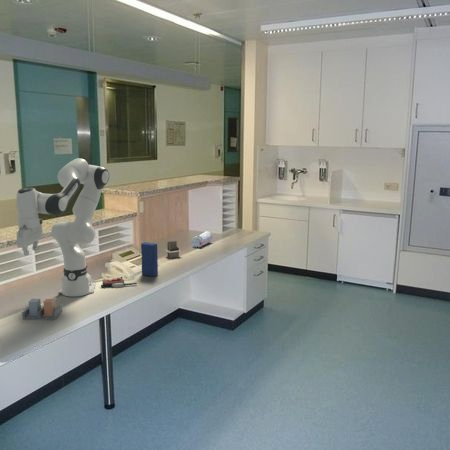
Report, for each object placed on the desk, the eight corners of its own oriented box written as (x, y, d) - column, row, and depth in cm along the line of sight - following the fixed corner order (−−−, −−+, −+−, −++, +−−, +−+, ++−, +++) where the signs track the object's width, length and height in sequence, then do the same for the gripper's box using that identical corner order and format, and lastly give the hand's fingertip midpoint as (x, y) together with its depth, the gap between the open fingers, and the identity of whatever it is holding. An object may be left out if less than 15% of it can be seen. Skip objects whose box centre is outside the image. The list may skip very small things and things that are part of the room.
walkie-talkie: (101, 289, 257) (137, 286, 263) (101, 282, 256) (137, 278, 262) (100, 284, 265) (135, 281, 272) (100, 277, 264) (135, 274, 271)
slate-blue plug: (32, 311, 221) (31, 298, 220) (41, 311, 221) (40, 298, 220) (29, 314, 217) (28, 301, 216) (37, 314, 217) (36, 301, 216)
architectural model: (181, 253, 336) (181, 238, 334) (190, 258, 322) (190, 243, 319) (157, 256, 328) (156, 240, 326) (165, 261, 313) (164, 246, 311)
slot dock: (31, 311, 224) (31, 304, 224) (62, 311, 225) (61, 304, 224) (22, 319, 215) (22, 312, 214) (54, 319, 215) (54, 312, 214)
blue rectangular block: (158, 274, 284) (158, 243, 280) (153, 277, 279) (153, 245, 275) (146, 272, 288) (145, 241, 284) (141, 274, 283) (140, 243, 279)
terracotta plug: (47, 311, 221) (46, 298, 220) (55, 311, 221) (54, 298, 220) (44, 314, 217) (43, 301, 216) (52, 314, 217) (51, 301, 216)
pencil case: (200, 248, 349) (200, 236, 347) (190, 247, 352) (190, 235, 350) (212, 242, 367) (213, 231, 366) (203, 241, 371) (203, 230, 369)
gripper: (25, 228, 200) (28, 258, 203) (43, 219, 220) (45, 247, 223) (11, 227, 200) (14, 258, 203) (30, 219, 220) (32, 247, 223)
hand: (30, 252), depth 213 cm, fingers open, 8 cm apart
